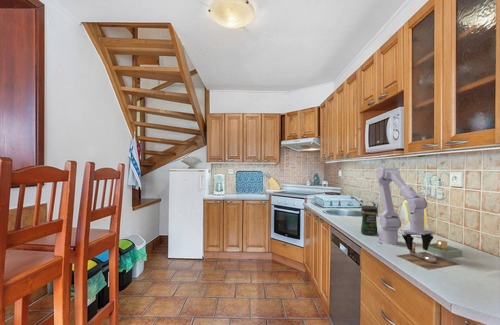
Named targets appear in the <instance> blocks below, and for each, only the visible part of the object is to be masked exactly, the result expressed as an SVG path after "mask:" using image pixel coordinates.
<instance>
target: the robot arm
mask: <svg viewBox="0 0 500 325" xmlns="http://www.w3.org/2000/svg"><path fill="white" fill-rule="evenodd" d="M376 178H377V182H378V187H379V193H380V198H381V199H380V200H381V204H382V209H383V210H382V212H381V213H380V214H379V225H380V228H379V229H378V240H377V243H379V244H382V245H383V244H386V245H391V246H397V245H398V244H399V230H400V228H402V220H401V218H400V216H399V214H398V213H397V212H396V211H395V209H394V203H393V198H392V192H391V188H390V184H391V183H395V185H396V186H397V187H398V188H399V193H400V194H401V195H402V196H403V197H404V199H405V200H406V206H407V208H408V212H409V229H405V230H401V233H400V234H401V237H402V238H403V240H404V243H405V245H406V248H407V250H408V251H409V250H410V251H412V242H414V236H420V237H421V243H422V250H423V249H424V250H423V251H425V250H428V247H429V244H431V243H432V241H433V239H434V231H433V230H430V229H429V230H427V229H425V209H426V208H427V206H428V201H427V200H426V198H425V197H423V196H421V195H419V194H418V193H417V192H416V191H415V190H414V188H413V187H412V186H410V185H407V184H406V182H405V181H404V179H403V177H402V176H401V173H400V170H399V169H398V167H395V166H393V167H390V166H389V167H383V166H380V167H378V168H377V170H376ZM410 251H409V252H410Z"/></svg>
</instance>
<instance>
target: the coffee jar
mask: <svg viewBox="0 0 500 325" xmlns="http://www.w3.org/2000/svg"><path fill="white" fill-rule="evenodd" d="M360 212H361V216H362V218H361V219H362V220H361V230H360V233H361V234H362V235H364V236H365V235H366V236H377V235H379V230H378V224H377V222H378V221H377V217H378V216H377V215H378V207H376V205H375V206H374V205H362V206H361V210H360Z"/></svg>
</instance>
